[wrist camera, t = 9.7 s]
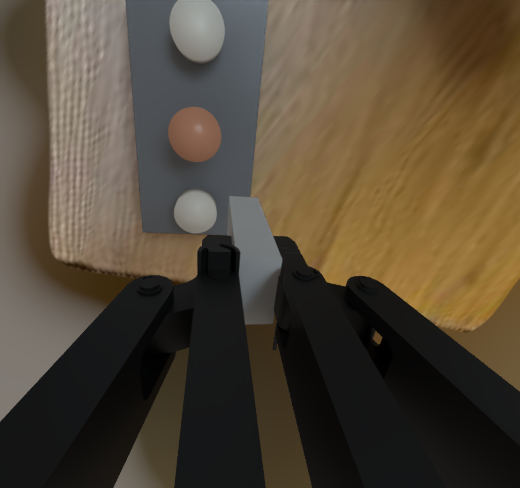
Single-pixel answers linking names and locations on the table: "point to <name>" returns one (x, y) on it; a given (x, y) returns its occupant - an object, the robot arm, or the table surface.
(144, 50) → the knob panel
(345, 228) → the table surface
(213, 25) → the cream knob
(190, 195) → the cream knob
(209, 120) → the rust knob middle
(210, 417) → the robot arm
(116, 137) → the table surface
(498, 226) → the table surface
